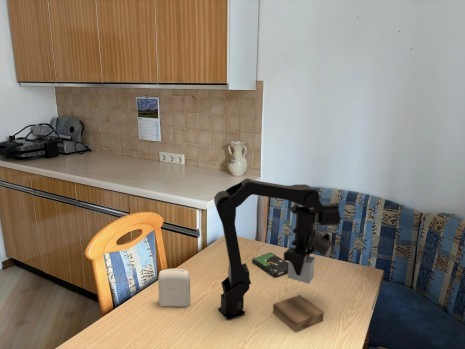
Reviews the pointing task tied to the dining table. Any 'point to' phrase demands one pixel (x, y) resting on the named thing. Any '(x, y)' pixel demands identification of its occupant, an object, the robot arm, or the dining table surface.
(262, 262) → the disk drive
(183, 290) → the photo printer
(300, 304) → the stand
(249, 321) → the dining table surface
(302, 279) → the block
